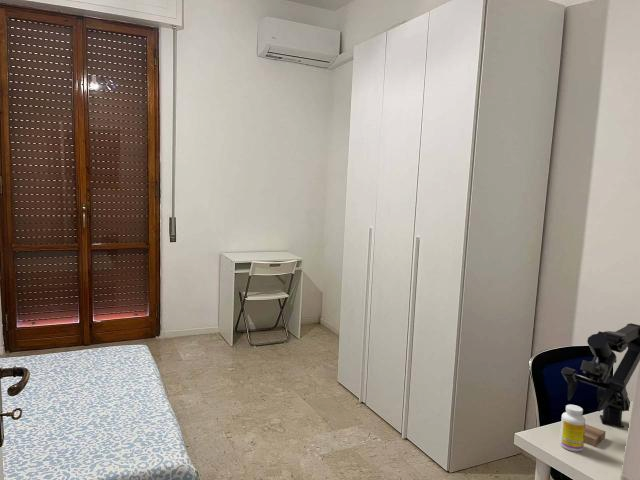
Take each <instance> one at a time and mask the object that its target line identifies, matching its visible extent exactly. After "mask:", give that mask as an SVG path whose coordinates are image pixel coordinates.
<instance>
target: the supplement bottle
mask: <svg viewBox="0 0 640 480" xmlns="http://www.w3.org/2000/svg"><path fill="white" fill-rule="evenodd" d="M583 412H584V409H583V408H582V407H581V406H579V405H575V404H567V405H565V411H564V412H563V413H562V414H561V419H560V420H561V421H560V431H559V445H560V447H562V448H563V449H565V450H568V451H571V452H581V451H583V449H584V444H585V443H584V433H585V424H586V418H585V417H584V416H583V414H584V413H583Z"/></svg>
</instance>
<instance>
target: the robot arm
mask: <svg viewBox="0 0 640 480" xmlns="http://www.w3.org/2000/svg"><path fill="white" fill-rule="evenodd" d="M586 342H587V345H588V346H589V348H590V351H591V353H592V355H594V357H593V359H592V360H590V361H588V360H584V359H583V360H582V362H581V365H580V368H579V369H580V371H582V373H583V375H580V374H579V373H578V371H577V369H574V368H571V367H568V366H565V367H563V368H562V369H561V371H560V373H561V375H562V377H563V379H564V381H566V382H567V401H571V399H572V398H573V396H574V394H575V392H576V390H577V388H578V387H579V386H578V384H579V382H581V383H584V384H586V385H590V386H593V387H595V388H597V389H596V398H597V403H599V404H598V406H597V411H598V412H601V411H602V414H599V418H600V421H601V423H602V424H603V425H606V426H612V427H617V428H625V425H624V423H623V421H622V419H623V412H629V411H630V407H631V401H630V398H629V396H628V395H629V394H628V391H627V388H626V387H627V385H628V383H629V382H630V379H631V378H632V376H633V374H634V372H635V371H636V369H637V366H638V365H639V363H640V324H636V323H632V322H631V323H627V324H626V326H624V327H621V328H620V329H618V330H616V331H612V330H611V331H609V330H607V331H598V332H597V333H594V334H591V335H590V336H589V337H587V341H586ZM624 351H626V352H625V354H624V355H623V357H622V359H621V361H620V363H619V364H618V366H617V368H616V369H615V371H614V374H613V375H612V377H611V371H612V369H613V366H614V364H615V363H617V355H616V353H619V354H620V353H621V354H622V353H623V352H624ZM615 352H616V353H615Z"/></svg>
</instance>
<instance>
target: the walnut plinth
mask: <svg viewBox="0 0 640 480" xmlns="http://www.w3.org/2000/svg"><path fill="white" fill-rule="evenodd" d="M606 433H607V431H605V430H603V429H600V428H598V427H594V426H592V425H589V424H587V423H585V433H584V444H587V445H589V446H592V447H594V448H596V447H597V446H598V445H599V444H601V442H603V441H604V440H605V439H606Z"/></svg>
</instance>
